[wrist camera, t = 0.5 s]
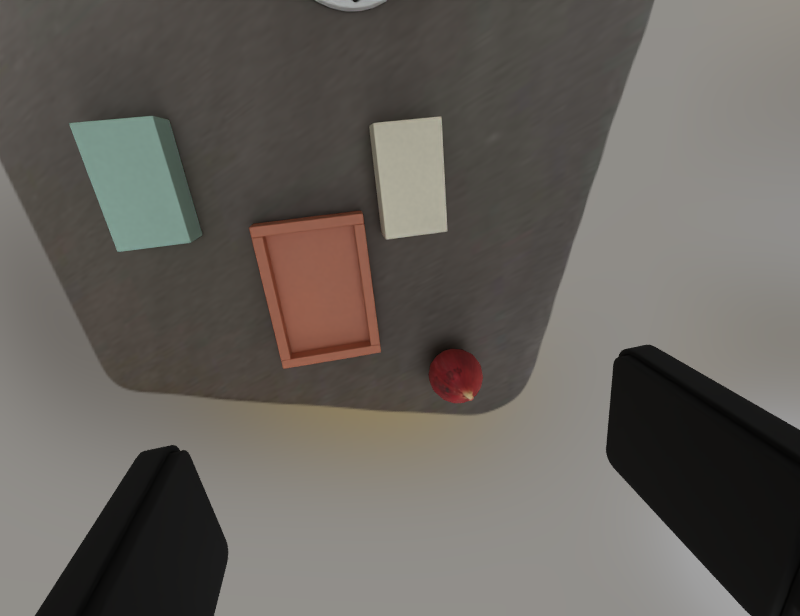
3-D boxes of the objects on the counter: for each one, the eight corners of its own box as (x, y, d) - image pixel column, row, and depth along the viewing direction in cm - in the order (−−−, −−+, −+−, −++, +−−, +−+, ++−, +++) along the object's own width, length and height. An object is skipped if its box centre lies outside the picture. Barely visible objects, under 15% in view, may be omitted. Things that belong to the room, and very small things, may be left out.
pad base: (93, 126, 33) (68, 123, 30) (169, 119, 33) (152, 115, 30) (135, 243, 36) (117, 252, 33) (202, 235, 37) (190, 242, 34)
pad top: (368, 125, 36) (372, 122, 33) (431, 119, 37) (441, 116, 34) (381, 232, 40) (386, 239, 37) (438, 225, 41) (447, 231, 38)
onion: (419, 380, 47) (436, 421, 40) (425, 336, 45) (444, 372, 38) (465, 380, 48) (489, 420, 41) (473, 338, 46) (500, 372, 39)
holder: (252, 223, 38) (248, 227, 36) (361, 210, 39) (362, 213, 37) (285, 359, 43) (283, 369, 41) (378, 344, 44) (381, 352, 43)
